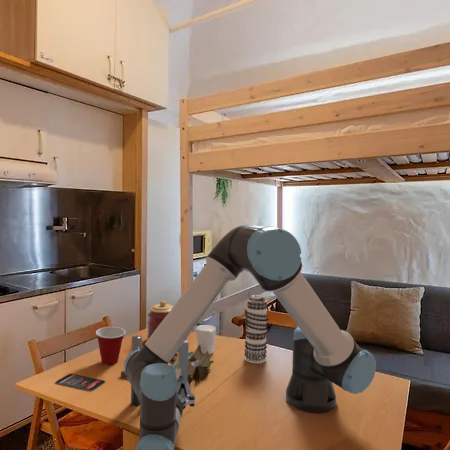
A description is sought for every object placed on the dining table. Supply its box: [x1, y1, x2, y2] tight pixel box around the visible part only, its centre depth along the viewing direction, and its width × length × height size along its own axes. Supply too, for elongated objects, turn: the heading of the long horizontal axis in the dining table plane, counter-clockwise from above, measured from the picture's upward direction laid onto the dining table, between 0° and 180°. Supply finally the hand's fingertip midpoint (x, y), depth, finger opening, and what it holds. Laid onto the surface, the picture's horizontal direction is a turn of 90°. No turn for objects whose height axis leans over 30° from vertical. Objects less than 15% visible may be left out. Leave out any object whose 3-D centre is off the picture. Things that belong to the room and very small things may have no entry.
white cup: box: [195, 324, 217, 356], centre depth 152 cm, size 8×8×10 cm
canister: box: [147, 300, 174, 340], centre depth 165 cm, size 13×13×18 cm
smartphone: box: [54, 373, 106, 392], centre depth 123 cm, size 7×1×15 cm
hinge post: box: [130, 335, 143, 407], centre depth 111 cm, size 3×3×20 cm
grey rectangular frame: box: [177, 339, 190, 400], centre depth 113 cm, size 12×2×18 cm, turn 103°
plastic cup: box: [95, 326, 126, 366], centre depth 140 cm, size 11×11×12 cm
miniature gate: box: [120, 345, 214, 382], centre depth 135 cm, size 27×6×30 cm
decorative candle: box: [244, 294, 269, 364], centre depth 146 cm, size 9×9×25 cm
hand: (178, 373), depth 112 cm, fingers closed
